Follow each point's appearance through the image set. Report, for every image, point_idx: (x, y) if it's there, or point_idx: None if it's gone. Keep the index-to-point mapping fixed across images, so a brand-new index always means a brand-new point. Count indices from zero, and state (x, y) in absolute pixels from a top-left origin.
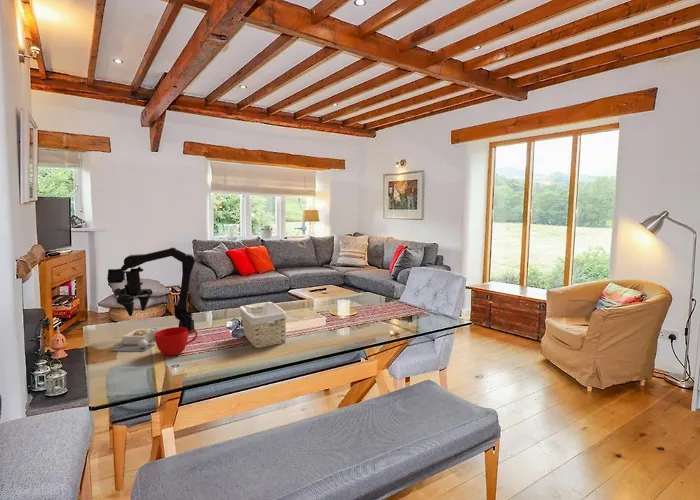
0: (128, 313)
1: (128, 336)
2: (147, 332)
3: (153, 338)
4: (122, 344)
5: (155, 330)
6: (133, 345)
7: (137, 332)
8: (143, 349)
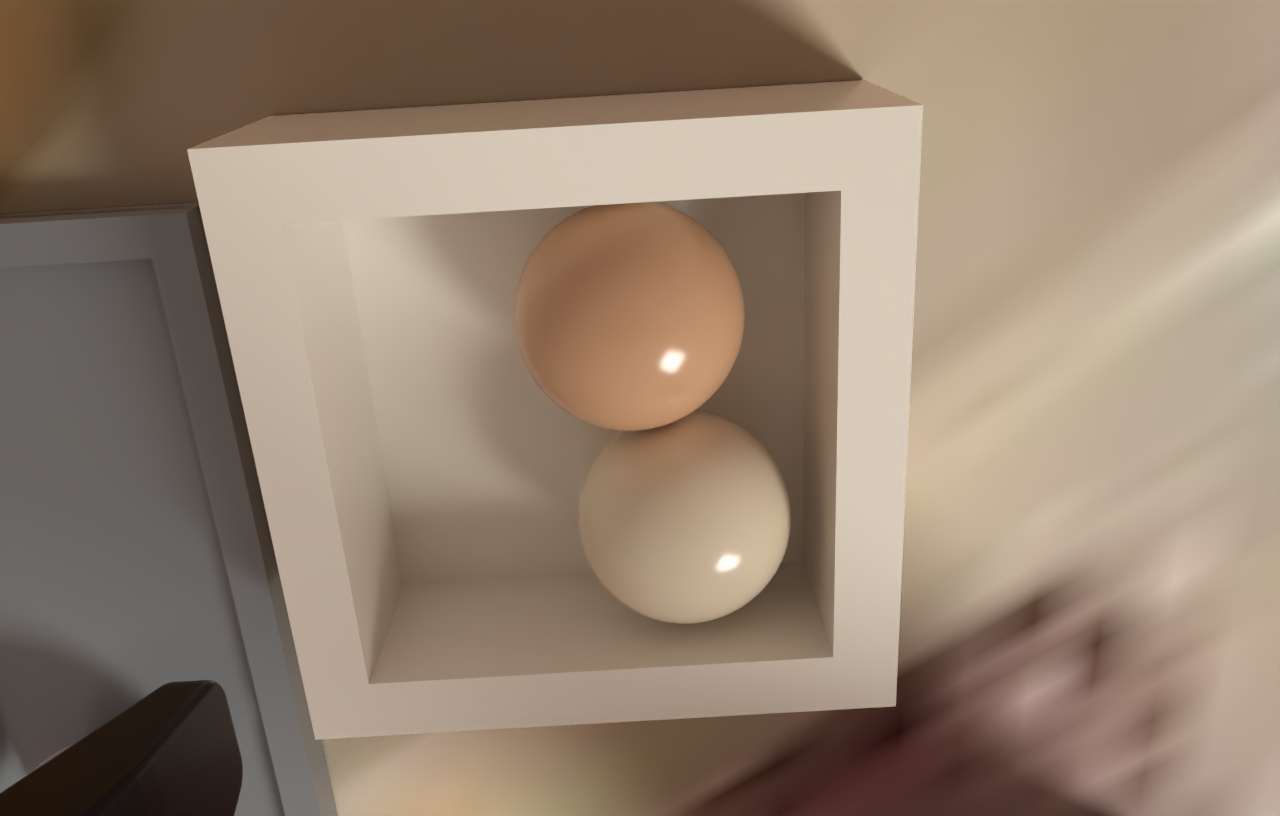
0: (35, 796)
1: (238, 351)
2: (640, 611)
3: None
4: (146, 216)
5: (794, 710)
6: (215, 480)
7: (568, 388)
8: None
